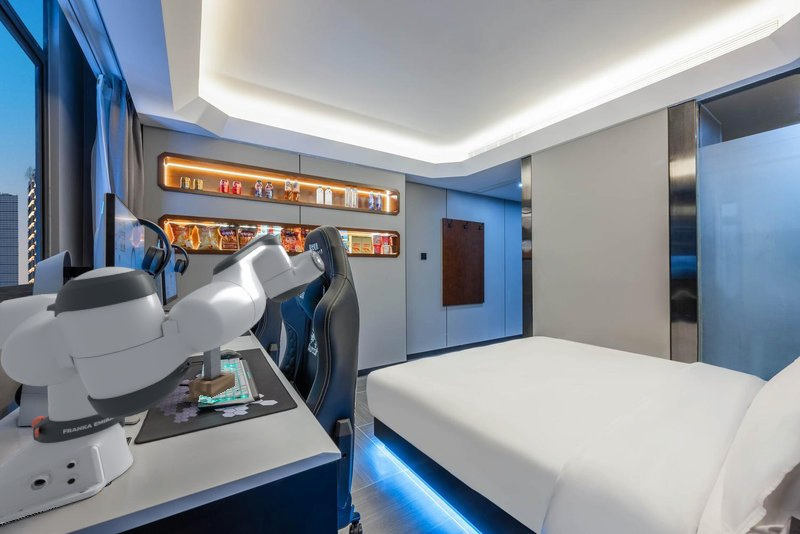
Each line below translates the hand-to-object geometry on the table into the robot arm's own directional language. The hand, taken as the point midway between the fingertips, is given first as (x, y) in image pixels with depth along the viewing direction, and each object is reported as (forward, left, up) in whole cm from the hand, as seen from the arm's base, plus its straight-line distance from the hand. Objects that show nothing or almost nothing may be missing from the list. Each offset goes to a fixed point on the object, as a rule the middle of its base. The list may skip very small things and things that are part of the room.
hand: (247, 298), depth 100 cm
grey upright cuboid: (-6, +16, -32) cm, 37 cm away
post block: (-6, +16, -33) cm, 38 cm away
